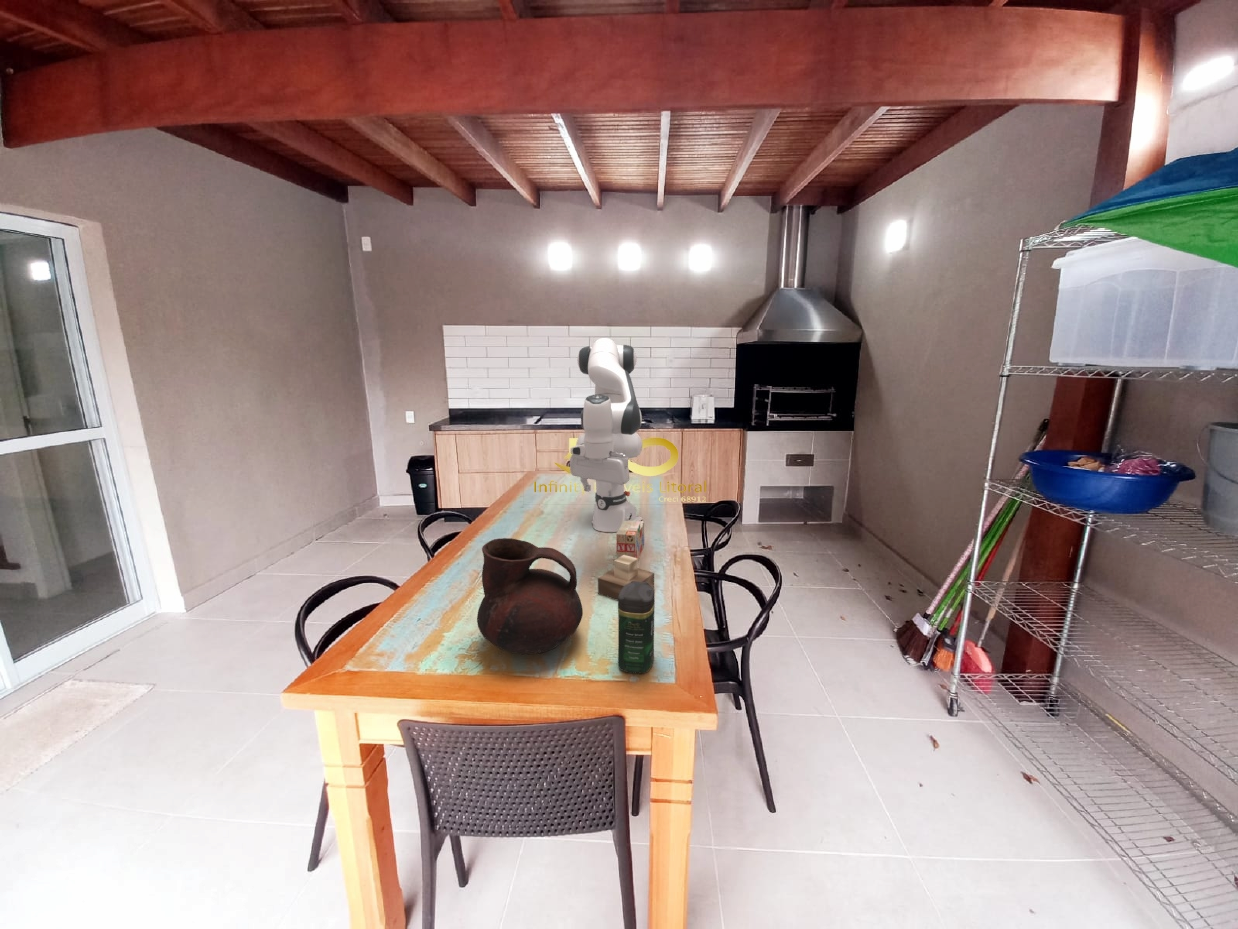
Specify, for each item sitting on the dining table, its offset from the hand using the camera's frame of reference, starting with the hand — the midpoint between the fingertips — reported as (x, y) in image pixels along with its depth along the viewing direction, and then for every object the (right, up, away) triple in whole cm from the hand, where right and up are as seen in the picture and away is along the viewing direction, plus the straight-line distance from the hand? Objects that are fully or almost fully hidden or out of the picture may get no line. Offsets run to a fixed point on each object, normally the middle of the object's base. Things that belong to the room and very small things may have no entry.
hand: (599, 493), depth 150 cm
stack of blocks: (+10, -23, +20) cm, 32 cm away
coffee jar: (+10, -36, -39) cm, 54 cm away
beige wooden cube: (+8, -24, -7) cm, 26 cm away
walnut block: (+8, -29, -6) cm, 30 cm away
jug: (-15, -35, -30) cm, 48 cm away
